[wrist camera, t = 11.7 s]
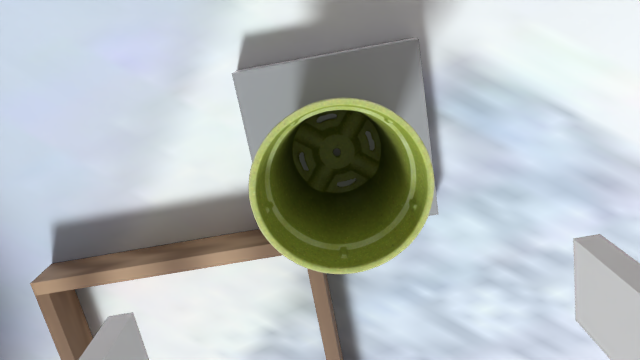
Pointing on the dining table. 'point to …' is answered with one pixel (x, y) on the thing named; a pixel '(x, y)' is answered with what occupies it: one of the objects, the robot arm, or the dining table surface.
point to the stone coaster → (336, 89)
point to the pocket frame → (65, 277)
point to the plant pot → (341, 202)
